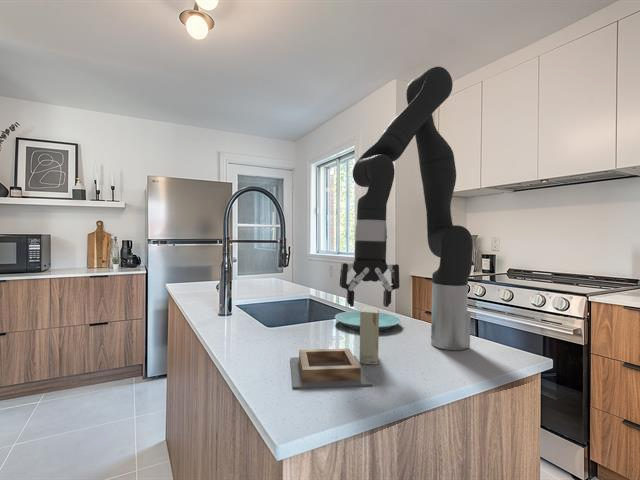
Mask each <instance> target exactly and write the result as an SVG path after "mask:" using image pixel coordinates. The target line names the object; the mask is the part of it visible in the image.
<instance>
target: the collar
mask: <svg viewBox="0 0 640 480" xmlns="http://www.w3.org/2000/svg"><path fill="white" fill-rule="evenodd" d="M354 356H355V355H353V353H352V351H351V349H350V348H320V349H318V348H317V349H316V348H315V349H299V350H298V357H299V363H300V370H301V377H302V382H322V381H349V380H361V367H360V366H359V364H358V362H357V361H356V359H355V357H354ZM339 361H344V362H345V364H346V366H318V367H309V363H308V362H339Z"/></svg>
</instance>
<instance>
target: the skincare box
mask: <svg viewBox="0 0 640 480" xmlns="http://www.w3.org/2000/svg"><path fill="white" fill-rule="evenodd" d="M360 311H361V312H360V330H359V363H360V364H366V365H373V366H377V365H378V364H379V337H380V336H379V332H380V331H379V312H380V309H379V307H378V308H377V307H361V309H360Z"/></svg>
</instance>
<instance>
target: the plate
mask: <svg viewBox="0 0 640 480" xmlns="http://www.w3.org/2000/svg"><path fill="white" fill-rule="evenodd" d="M360 312H361V310H353V311H352V310H351V311H343V312H338V313H337V314H335V315H334V319H336V320H337V321H338V322H339V323H341V324H343V325H345V326H346V327H347V326H348V328H349V327H350V329H352V328H353V330H358V331H360ZM401 322H402V319H401V318H400V317H399V316H397V315H394V314H391V313H386V312H381V311H379V332H380V331H385V330H388V329H390V328H392V327H394V326H396V325H399V324H401Z"/></svg>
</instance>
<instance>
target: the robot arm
mask: <svg viewBox="0 0 640 480" xmlns="http://www.w3.org/2000/svg"><path fill="white" fill-rule="evenodd" d="M453 85H454V84H453V78H452V76H451V74H450V72H449V71H448V70H447V68H445V67H442V66H434V67H433V66H432V67H431V68H429V69H427V70H425V71H424V72H422V73H420V74H419V75H417V76H416V77H415V78H413V79H412V80H410V82H409V83H408V84H407V86H406V93H405V94H406V103H407V106H406V107H405V108H404V109H403V110H402V111H401V112H400V113H399V114H397V116H395V117H394V118H393V119H392V120H391V121H390V123H389V124H388V126H387V127H386V128H385V129H384V131H383V132H382V133H381V134H380V136H379V138H378V139H377V141H375V143H374V144H373V145H371V146H370V147H369V148H368V149H367V150H366V151H365V152H364V153H362V155H361V156H360V157H359V158H358V159H357V161H356V162H355V164H354V166H353V169H352V178H353V181H354V183H355V184H356V185H358V186H359V187H361V188H367V192H366V193H365V194H364V195H363V196H360V197H359V198H358V200H357V205H356V207H357V212H356V226H355V233H354V234H355V235H354V239H355V241H354V260H353V263H346V262H343V261H342V263H341V264H340V277H339V286H340V287H341V288H342V289H345V290H346V302H347V304H348V305H349V307H353V308H354V307H355V291H354V289H355V288H357V286H358V285H359V284H360V283H361V281H363V282H376V283H377V282H379V283H380V284H381V287H383V289H384V290H383V295H382V296H383V302H382V303H383V304H382V305H383V306H384V307H385V308H387V307H388V308H389V306H390V305H391V303H392V292H393V291H394V290H399V289H400V265H399V264H398V263H391V264H389V263H387V244H388V243H387V242H388V241H387V240H388V228H387V205H388V201H389V198H390V194H391V191H392V187H393V183H394V179H395V173H396V171H395V165H394V162H396V161H397V160H398V159H400V158H401V156H402V155H403V153H404V152H405V150H406V149H407V147H408V146H409V144H410V143H411V142H412V140H413V138H414V137H415V142H416V147H417V153H418V154H417V155H418V164H419V165H418V166H419V171H420V178H421V183H422V189H423V191H422V192H423V197H424V205H425V209H426V211H425V212H426V229H427V230H426V231H427V232H426V235H427V244H428V247H429V250H430V252H431V254H433V256H435V257H438V258H440V259H439V267H438V268H437V269H436V270H435V271H434V272H433V273H432V277H431V278H432V279H431V282H432V283H431V331H430V334H431V335H430V338H431V339H430V344H431V345H432V346H434V347H436V348H437V349H438V348H439V349H442V350H447V351H463V350H465V349H470V348H471V312H469V311H468V297H469V296H468V293H469V292H468V289H469V287H468V286H469V285H468V283H469V278H470V275H471V272H472V266H473V254H474V253H473V252H474V244H473V238H472V237H473V236H472V234H471V232H470V231H469V229H467V227H465V226H463V225H458V224H457V225H454V224H453V218H452V211H451V206H452V200H453V199H452V198H453V194H454V191H455V187H456V182H457V168H456V161H455V155H454V152H453V149H452V147H451V146H450V144H449V143H448V142H447V140H446V139H445V138H444V136H442V135H441V134H440V132H439V131H438V130H437V127H436V125H435V121H434V117H433V113H434V112H435V111H436V110H437V109H438V108H439V107H440V106H441V105H442V104H443V103H444V102H445V101H446V100H447V99H448V98H449V97H450V95H451V93H452V91H453ZM351 269H352V270H353V271H354V272H355V274H354V275H353V277H352V278H351V280H350V281H349V283H347V282H348V273H350V272H351ZM387 270H388V272H389V273H390V277H391V279H390V280H391V283H389V281H388V279H387V278H386V277H385V275H384V274H385V273H386V272H387Z"/></svg>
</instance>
